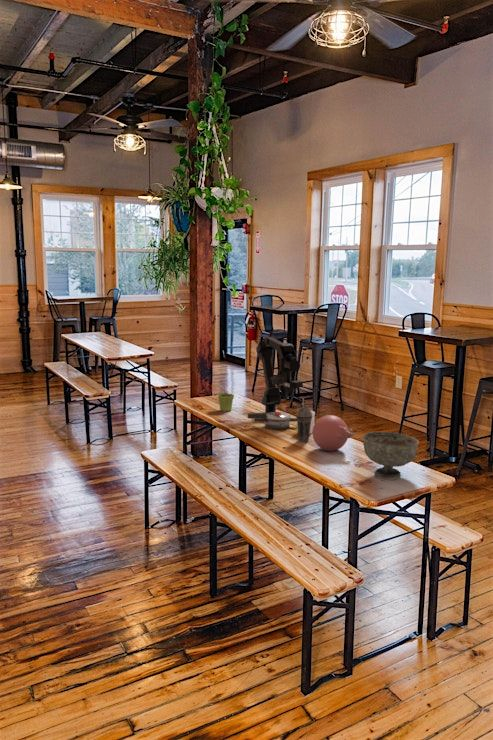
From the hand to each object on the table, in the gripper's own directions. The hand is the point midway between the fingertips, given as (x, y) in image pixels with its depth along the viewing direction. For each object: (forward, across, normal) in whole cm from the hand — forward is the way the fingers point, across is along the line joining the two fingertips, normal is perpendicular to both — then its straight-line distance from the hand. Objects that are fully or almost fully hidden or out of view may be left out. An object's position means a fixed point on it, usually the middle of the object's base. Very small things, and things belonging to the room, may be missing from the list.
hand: (284, 399), depth 294 cm
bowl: (+13, +77, -30) cm, 84 cm away
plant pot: (+13, -40, -3) cm, 42 cm away
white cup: (+13, +18, -6) cm, 23 cm away
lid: (+8, -1, -11) cm, 13 cm away
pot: (+12, +2, -8) cm, 15 cm away
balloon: (+13, +45, -21) cm, 52 cm away
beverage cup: (+13, +26, -18) cm, 34 cm away
